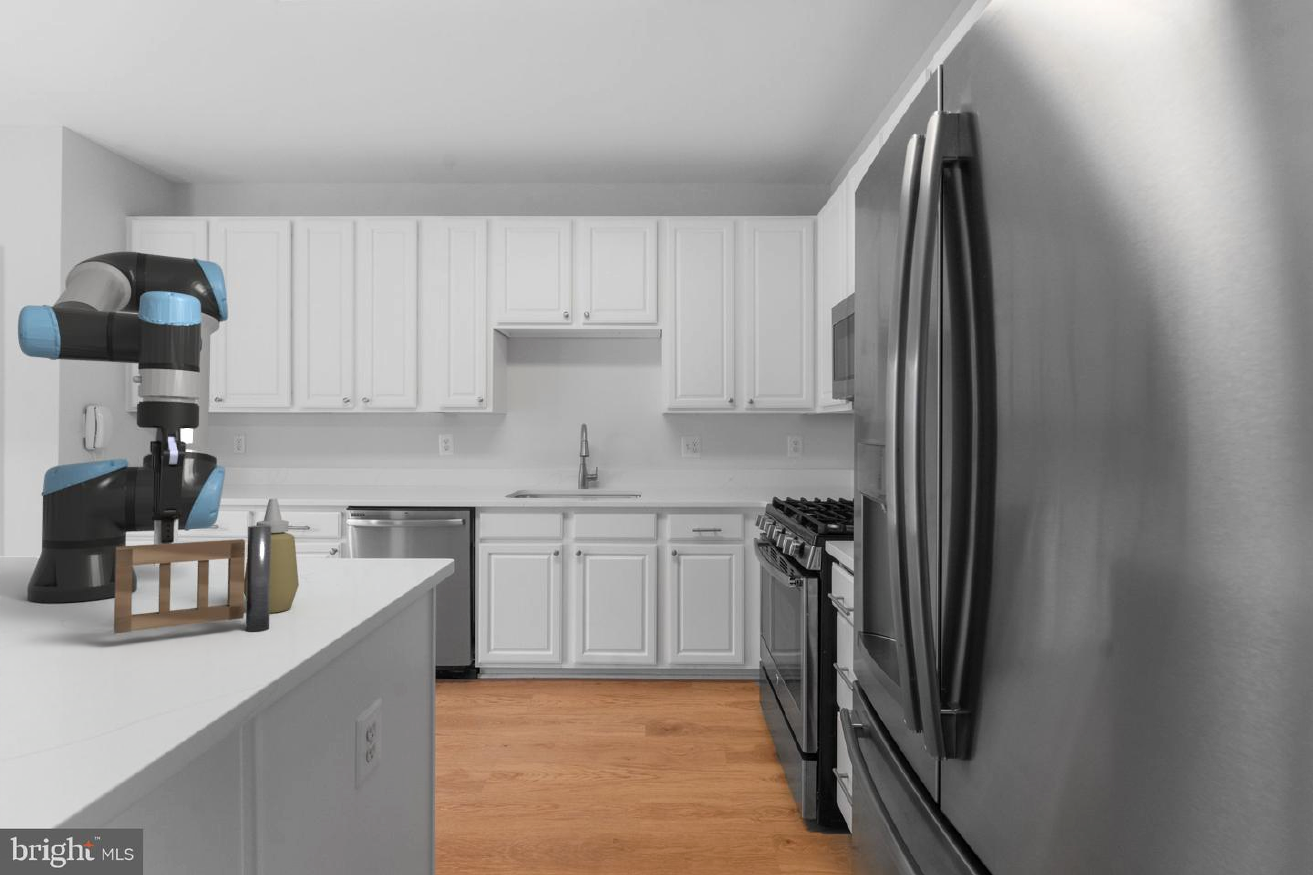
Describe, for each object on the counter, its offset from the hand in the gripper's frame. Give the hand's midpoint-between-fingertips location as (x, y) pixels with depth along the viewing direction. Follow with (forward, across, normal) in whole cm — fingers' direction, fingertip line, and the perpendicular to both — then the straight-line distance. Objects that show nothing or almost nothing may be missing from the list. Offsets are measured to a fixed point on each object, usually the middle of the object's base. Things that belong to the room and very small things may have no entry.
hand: (165, 564), depth 107 cm
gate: (+8, +6, +1) cm, 10 cm away
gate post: (+10, +7, +11) cm, 16 cm away
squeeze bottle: (+10, -5, +15) cm, 19 cm away
